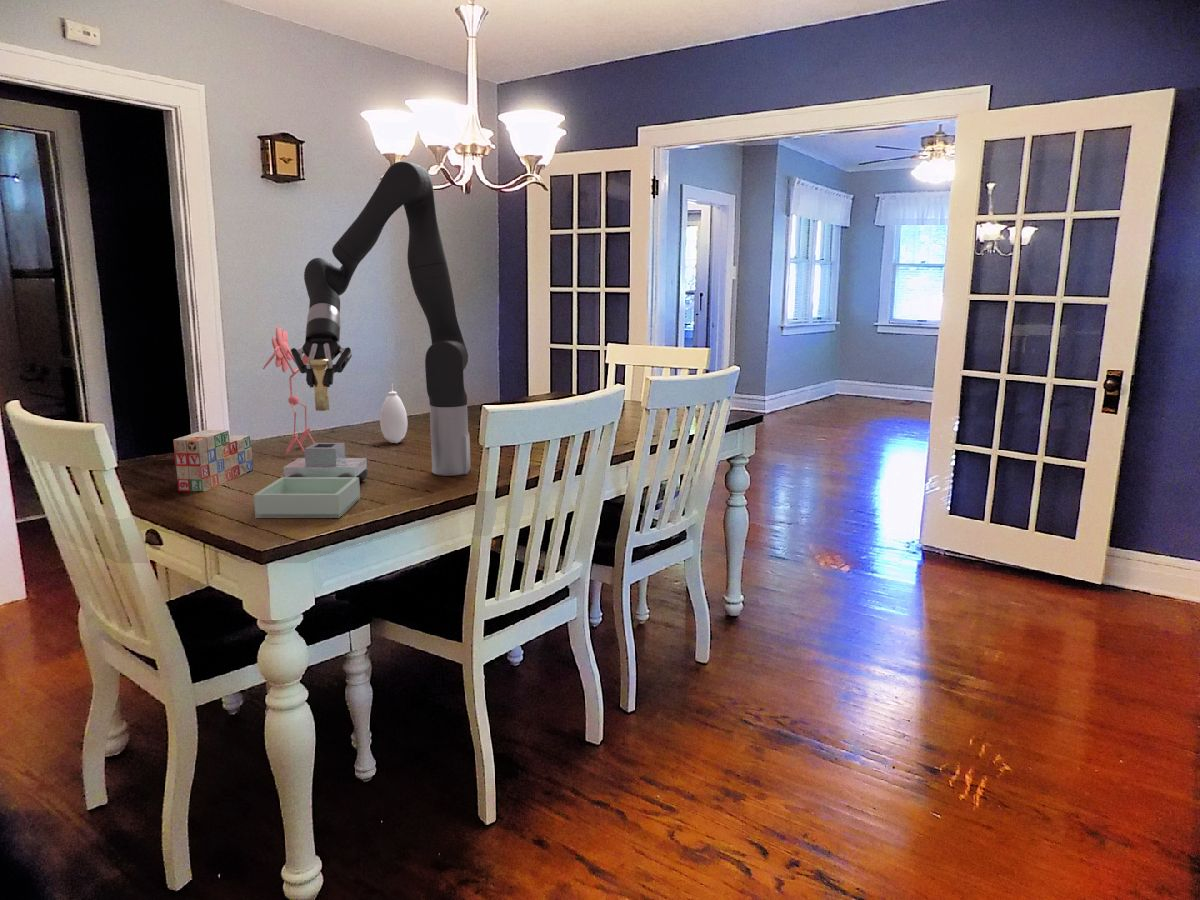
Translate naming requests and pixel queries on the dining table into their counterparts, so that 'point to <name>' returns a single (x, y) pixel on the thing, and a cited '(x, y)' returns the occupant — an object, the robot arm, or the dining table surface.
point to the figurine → (282, 358)
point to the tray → (307, 497)
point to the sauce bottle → (393, 418)
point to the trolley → (327, 463)
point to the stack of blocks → (210, 459)
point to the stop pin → (320, 383)
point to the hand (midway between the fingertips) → (319, 384)
